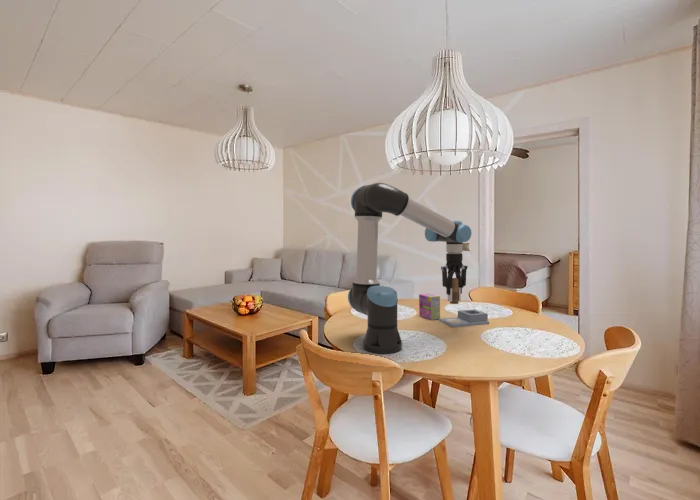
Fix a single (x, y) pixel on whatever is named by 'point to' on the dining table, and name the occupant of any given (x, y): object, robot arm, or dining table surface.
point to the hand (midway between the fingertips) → (454, 300)
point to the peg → (455, 290)
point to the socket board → (464, 323)
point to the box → (429, 306)
